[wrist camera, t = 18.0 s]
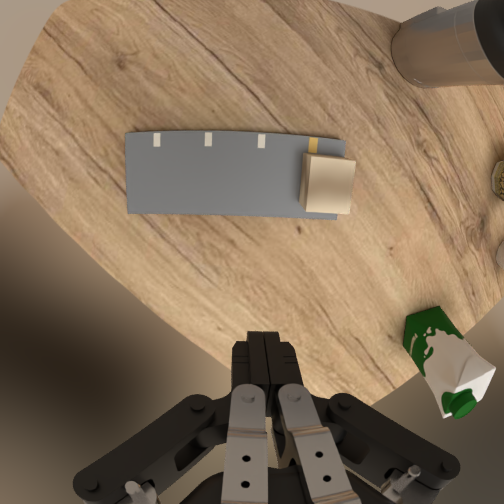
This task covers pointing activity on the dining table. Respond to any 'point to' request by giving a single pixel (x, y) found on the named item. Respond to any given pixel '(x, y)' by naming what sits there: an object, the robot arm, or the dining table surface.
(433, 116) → the dining table surface
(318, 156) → the knob
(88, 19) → the dining table surface
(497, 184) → the ceramic cup
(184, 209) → the board
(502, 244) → the dixie cup
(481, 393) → the soya milk
